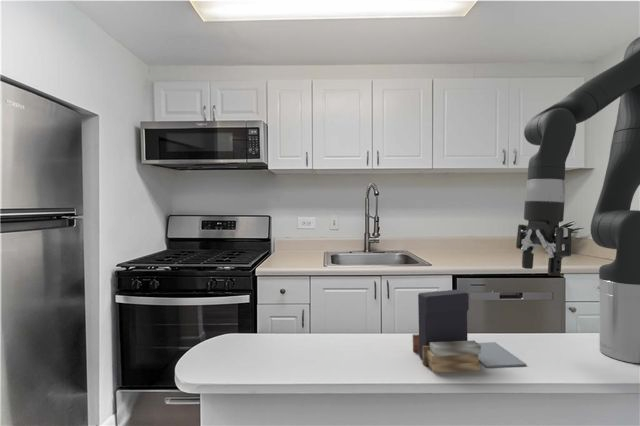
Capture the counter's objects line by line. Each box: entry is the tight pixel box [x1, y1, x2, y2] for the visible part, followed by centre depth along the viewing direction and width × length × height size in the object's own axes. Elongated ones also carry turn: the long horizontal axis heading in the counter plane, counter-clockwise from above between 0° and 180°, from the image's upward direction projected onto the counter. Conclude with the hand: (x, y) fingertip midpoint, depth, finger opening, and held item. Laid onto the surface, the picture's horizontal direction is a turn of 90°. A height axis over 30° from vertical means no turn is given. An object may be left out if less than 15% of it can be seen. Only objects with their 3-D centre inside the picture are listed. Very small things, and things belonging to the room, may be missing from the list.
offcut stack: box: [427, 339, 481, 373], centre depth 73 cm, size 11×3×5 cm, turn 93°
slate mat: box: [477, 341, 527, 368], centre depth 79 cm, size 9×12×1 cm
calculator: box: [417, 289, 470, 360], centre depth 79 cm, size 11×4×15 cm, turn 105°
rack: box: [412, 333, 430, 366], centre depth 79 cm, size 12×8×4 cm, turn 93°
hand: (539, 271), depth 77 cm, fingers open, 8 cm apart
